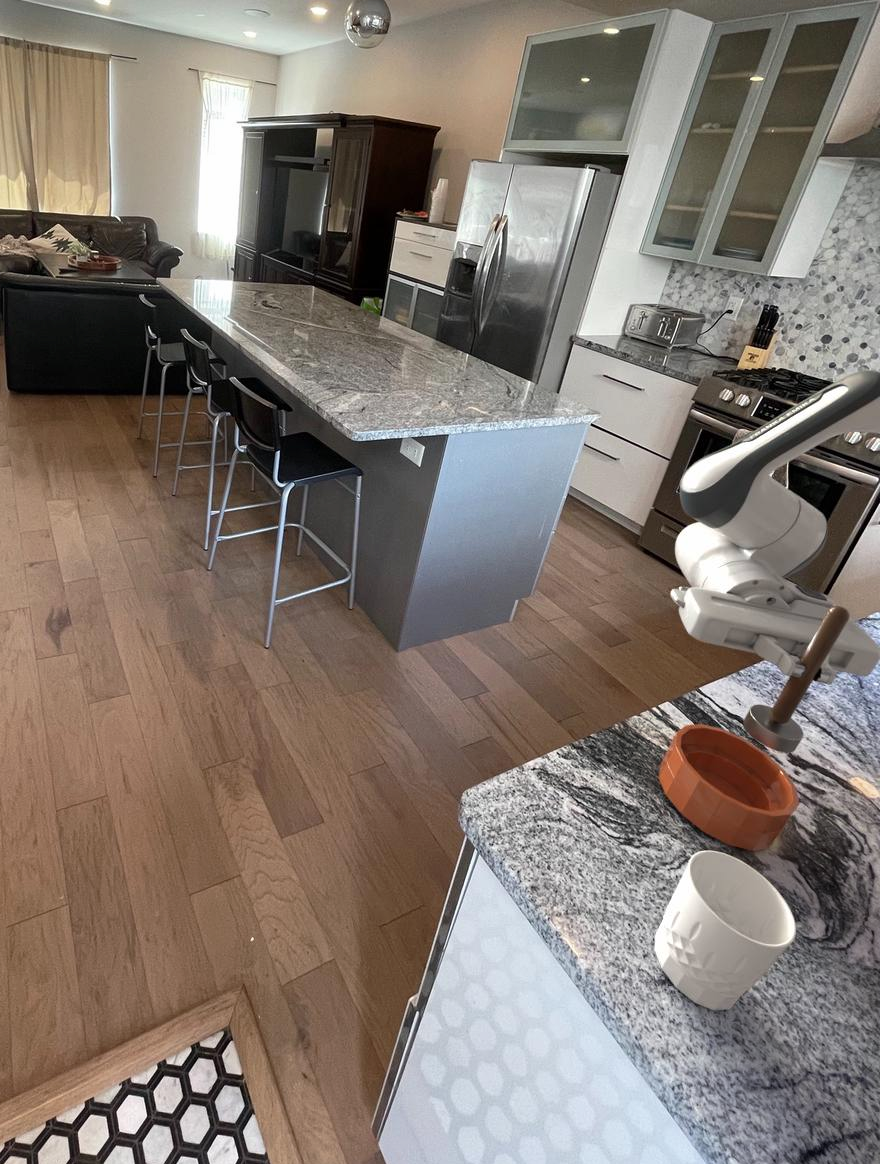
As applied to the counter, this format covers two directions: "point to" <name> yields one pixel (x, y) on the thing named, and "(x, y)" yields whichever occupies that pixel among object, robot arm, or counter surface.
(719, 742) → the bowl
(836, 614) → the wooden peg on disc
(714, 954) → the white cup
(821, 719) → the counter surface
